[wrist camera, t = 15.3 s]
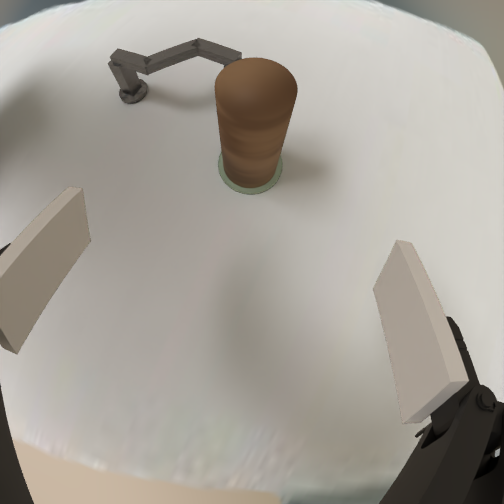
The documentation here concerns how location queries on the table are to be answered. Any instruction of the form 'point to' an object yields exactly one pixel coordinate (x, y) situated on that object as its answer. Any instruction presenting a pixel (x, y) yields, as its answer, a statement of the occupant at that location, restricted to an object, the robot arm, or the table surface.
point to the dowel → (253, 118)
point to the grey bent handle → (162, 64)
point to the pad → (250, 190)
